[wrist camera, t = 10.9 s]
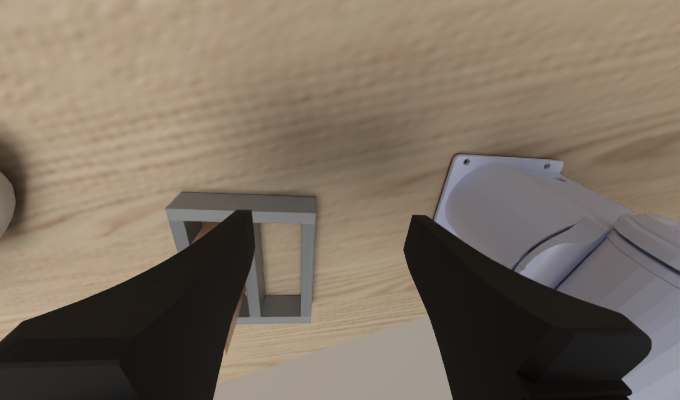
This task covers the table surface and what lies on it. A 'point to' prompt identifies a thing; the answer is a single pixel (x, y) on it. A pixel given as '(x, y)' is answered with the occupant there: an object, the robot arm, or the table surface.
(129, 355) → the robot arm
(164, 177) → the table surface
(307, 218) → the dish rack
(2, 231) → the donut
